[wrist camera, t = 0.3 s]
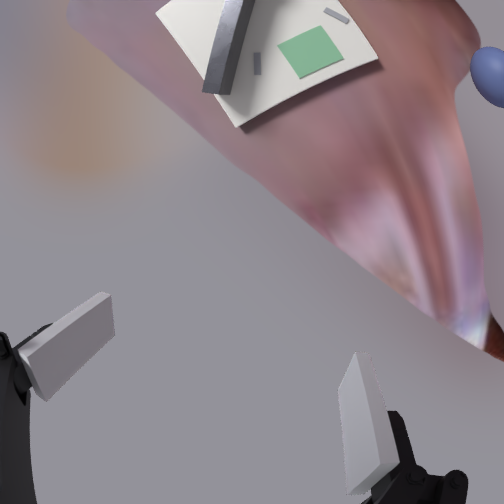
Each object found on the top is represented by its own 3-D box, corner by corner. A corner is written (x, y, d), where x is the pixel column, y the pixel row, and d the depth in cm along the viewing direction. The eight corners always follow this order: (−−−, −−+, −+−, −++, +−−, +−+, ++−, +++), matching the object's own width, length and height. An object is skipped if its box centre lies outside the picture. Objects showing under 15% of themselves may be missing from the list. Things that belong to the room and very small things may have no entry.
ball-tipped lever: (243, -29, 19) (232, -43, 15) (271, -27, 18) (263, -42, 15) (209, 91, 29) (194, 91, 25) (236, 96, 29) (224, 95, 25)
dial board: (279, -55, 16) (277, -61, 14) (376, 59, 23) (378, 57, 22) (160, 15, 25) (154, 13, 23) (239, 126, 32) (235, 127, 31)
